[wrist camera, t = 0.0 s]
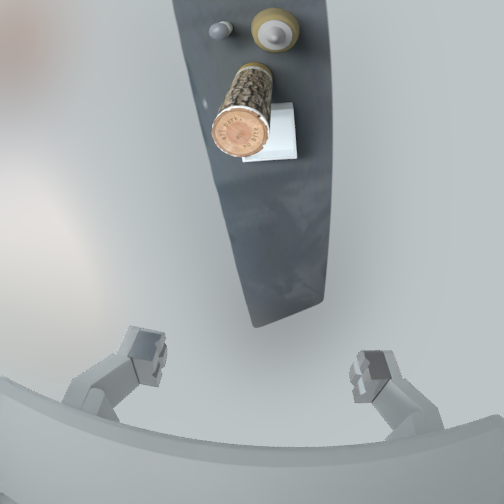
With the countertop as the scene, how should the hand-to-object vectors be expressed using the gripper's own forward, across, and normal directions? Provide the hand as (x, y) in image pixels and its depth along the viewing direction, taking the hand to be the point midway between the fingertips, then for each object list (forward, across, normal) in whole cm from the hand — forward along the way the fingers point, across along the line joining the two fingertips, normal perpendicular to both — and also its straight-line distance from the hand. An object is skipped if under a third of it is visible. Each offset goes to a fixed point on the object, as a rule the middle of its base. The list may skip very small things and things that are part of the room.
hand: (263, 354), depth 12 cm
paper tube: (+51, +3, -12) cm, 52 cm away
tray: (+54, 0, -2) cm, 54 cm away
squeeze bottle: (+47, +1, -23) cm, 53 cm away
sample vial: (+48, +10, -22) cm, 53 cm away
